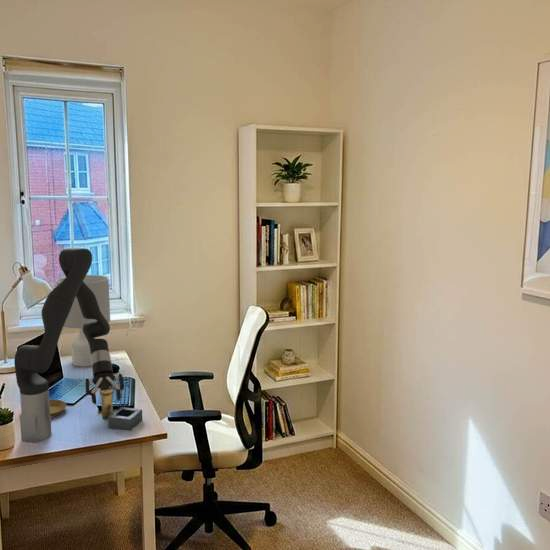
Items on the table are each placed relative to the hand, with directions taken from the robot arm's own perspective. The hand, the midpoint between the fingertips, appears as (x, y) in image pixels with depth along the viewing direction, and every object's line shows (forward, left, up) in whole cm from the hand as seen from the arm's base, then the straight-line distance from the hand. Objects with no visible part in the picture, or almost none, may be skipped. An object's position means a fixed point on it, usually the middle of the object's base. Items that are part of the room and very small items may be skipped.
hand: (107, 401), depth 205 cm
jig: (-4, -10, -6) cm, 12 cm away
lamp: (+54, +45, -6) cm, 71 cm away
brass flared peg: (0, 0, -6) cm, 6 cm away
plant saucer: (-3, +25, -7) cm, 26 cm away
